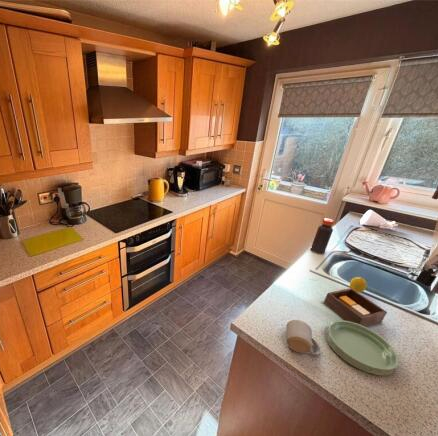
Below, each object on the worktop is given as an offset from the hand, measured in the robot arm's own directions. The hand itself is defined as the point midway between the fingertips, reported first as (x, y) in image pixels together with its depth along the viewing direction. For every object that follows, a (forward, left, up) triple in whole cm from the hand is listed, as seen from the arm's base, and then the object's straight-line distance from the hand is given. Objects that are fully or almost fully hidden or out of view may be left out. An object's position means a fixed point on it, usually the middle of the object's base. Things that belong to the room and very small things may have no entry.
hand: (433, 281), depth 73 cm
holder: (+4, -13, -26) cm, 30 cm away
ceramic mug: (+36, -6, -26) cm, 45 cm away
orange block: (+4, -16, -26) cm, 30 cm away
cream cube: (+4, -11, -26) cm, 28 cm away
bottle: (-24, -54, -26) cm, 65 cm away
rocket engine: (-92, -68, -26) cm, 118 cm away
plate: (+18, 0, -26) cm, 32 cm away
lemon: (-10, -22, -26) cm, 36 cm away
